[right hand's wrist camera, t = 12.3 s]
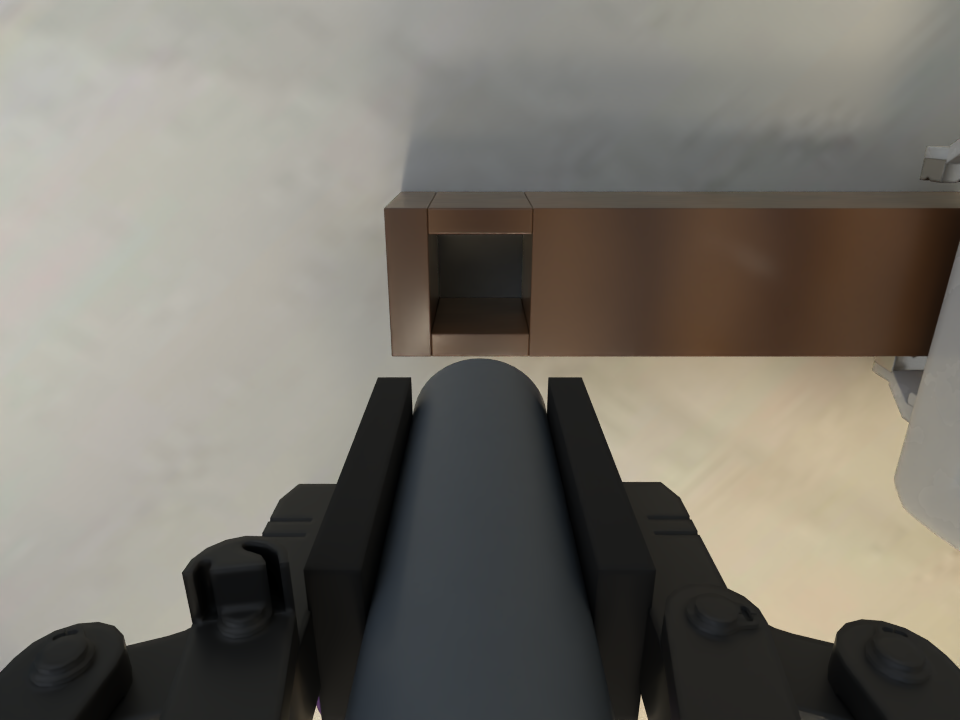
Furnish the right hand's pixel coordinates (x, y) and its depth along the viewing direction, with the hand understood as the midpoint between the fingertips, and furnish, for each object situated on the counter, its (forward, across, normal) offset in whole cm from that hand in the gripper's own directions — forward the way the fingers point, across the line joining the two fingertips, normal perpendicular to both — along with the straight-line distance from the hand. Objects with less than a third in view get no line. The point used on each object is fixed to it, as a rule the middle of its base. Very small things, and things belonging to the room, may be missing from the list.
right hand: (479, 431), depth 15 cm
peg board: (+20, -10, 0) cm, 22 cm away
